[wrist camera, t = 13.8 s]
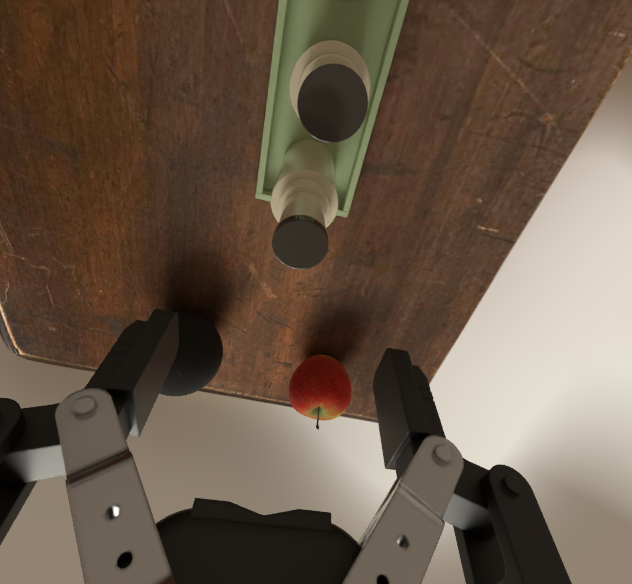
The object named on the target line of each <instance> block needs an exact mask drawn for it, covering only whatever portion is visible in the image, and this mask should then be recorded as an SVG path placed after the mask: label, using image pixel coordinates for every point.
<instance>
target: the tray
mask: <svg viewBox="0 0 632 584" xmlns="http://www.w3.org/2000/svg"><path fill="white" fill-rule="evenodd" d="M408 3H409V0H361V1H359V2H355V3H345V2H341V1H339V0H279V4H278V12H277V21H276V29H275V37H274V46H273V54H272V63H271V71H270V79H269V88H268V96H267V105H266V113H265V121H264V130H263V138H262V147H261V155H260V163H259V172H258V180H257V189H256V197H255V198H257V199H262V200H267V201H271V195H272V191H273V188H274V185H275V182H276V179H277V176H278V173H279V170H280V167H281V164H282V161H283V158H284V155H285V153H286V151H287V150H288V149H289V148H290V147H291V146H292V145H293V144H295V143H296V142H298V141H301V140H315V141H318V142H320V143H322V144H323V145H324V146H326V147H327V148H328V150H329V151H330V152H331V154H332V156H333V159H334V165H335V174H336V184H337V193H338V210H337V213H336V215H338V216H343V217H348V213H349V209H350V206H351V202H352V199H353V195H354V192H355V188H356V185H357V181H358V178H359V174H360V171H361V167H362V164H363V160H364V157H365V153H366V150H367V146H368V143H369V139H370V136H371V132H372V129H373V125H374V122H375V118H376V115H377V111H378V108H379V104H380V101H381V97H382V94H383V90H384V87H385V83H386V80H387V76H388V73H389V69H390V66H391V62H392V59H393V55H394V52H395V48H396V45H397V41H398V38H399V34H400V31H401V27H402V24H403V20H404V17H405V13H406V10H407V6H408ZM328 40H332V41H340V42H343V43H345V44H347V45H349V46H351V47H352V48H353V49H355V50H356V51H357V52H358V53H359V54H360V56H361V57H362V58H363V60H364V62H365V64H366V66H367V68H368V72H369V75H370V86H371V88H370V96H369V101H368V109H367V114H366V117H365V120H364V122H363V124H362V125H361V127H360V128H359V129H358V131H357V132H356V133H355V134H354V135H352V136H351V137H350V138H348V139H346V140H344V141H341V142H337V143H327V142H322V141H320V140H317V139H316V138H314V137H313V136H311V135H310V134H309V133H308V132H307V131H306V129H305V128H304V127H303V125H302V123H301V121H300V119H299V117H298V116H297V114H296V112H295V110H294V108H293V106H292V103H291V99H290V89H289V86H290V78H291V73H292V70H293V68H294V66H295V63H296V62H297V60H298V59H299V57H300V56H301V55H302V53H303V52H305V51H306V50H307V49H308V48H309V47H311V46H312V45H314V44H316V43H319V42H322V41H328Z"/></svg>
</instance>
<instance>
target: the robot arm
mask: <svg viewBox="0 0 632 584" xmlns="http://www.w3.org/2000/svg"><path fill="white" fill-rule="evenodd" d="M178 346H179V323H178V313H177V312H173V311H167V310H161V309H155V310H154V311H153V313H152V314H151V316H150V318H149V319H148V321H147V322H145V321H139V320H137V321H136V322H134V323H133V324H131V325H130V326H128V327H127V328H126V329H124V331H123V332H122V334H121V335H120V337H119V338H118V340H117V342H116V343H115V344H114V346H113V347H112V349H111V351H110V352H109V353H108V354H107V356H106V357H105V359H104V360H103V362H102V363H101V365H100V366H99V368H98V369H97V371H96V372H95V374H94V375H93V377H92V378H91V379H90V381H89V382H88V384H87V385H86V387H85V388H84V389H82V390H79V391H76V392H75V393H72V394H70V395H69V396H67V397H66V398H65V399H64V400H63V401H62V402H61V403H57V404H53V405H46V406H38V407H31V408H23V409H21V408H20V406H19V404H18V403H17V402H16V401H14V400H12V399H8V398H0V545H1V543H2V541H3V539H4V538H5V536H6V534H7V533H8V531H9V529H10V527H11V525H12V524H13V522H14V520H15V519H16V517H17V515H18V514H19V512H20V510H21V508H22V507H23V505H24V503H25V501H26V500H27V498H28V496H29V494H30V493H31V491H32V489H33V488H34V486H35V484H36V482H37V480H41V479H47V478H52V477H57V476H62V475H67V479H66V488H67V493H68V498H69V504H70V509H71V514H72V519H73V525H74V530H75V535H76V540H77V545H78V551H79V556H80V561H81V566H82V571H83V577H84V582H85V584H421V583H422V580H423V578H424V575H425V573H426V571H427V568H428V565H429V563H430V561H431V558H432V556H433V553H434V551H435V548H436V546H437V543H438V541H439V539H440V536H441V534H442V531H443V528H444V524H445V522H447V523H450V524H452V525H453V527H454V532H455V536H456V541H457V545H458V550H459V554H460V558H461V563H462V568H463V572H464V577H465V581H466V584H572V583H571V581H570V579H569V576H568V574H567V572H566V569H565V567H564V565H563V562H562V560H561V557H560V555H559V553H558V550H557V548H556V545H555V543H554V541H553V538H552V536H551V534H550V531H549V529H548V526H547V524H546V521H545V519H544V517H543V514H542V512H541V510H540V507H539V505H538V502H537V500H536V498H535V495H534V493H533V491H532V489H531V486H530V485H529V483H528V482H527V481H526V479H525V478H524V477H523V476H522V475H521V474H520V473H519V472H517V471H516V470H514V469H513V468H511V467H509V466H505V465H495V466H493V467H492V468H491V469H490V470H487V469H485V468H483V467H480V466H478V465H476V464H474V463H471V462H469V461H467V460H465V459H464V458H462V455H461V453H460V452H459V450H458V449H457V448H456V446H454V444H453V443H451V442H450V441H449V440H447V439H446V437H445V434H444V431H443V428H442V425H441V422H440V418H439V415H438V412H437V409H436V406H435V402H434V401H433V396H432V393H431V391H430V387H429V383H428V380H427V377H426V376H425V374H424V373H423V372H422V370H421V369H420V368H419V366H414V365H412V363H411V360H410V356H409V353H408V352H407V351H404V350H398V349H392V348H387V349H386V351H385V353H384V355H383V357H382V360H381V362H380V364H379V366H378V368H377V370H376V373H375V376H374V381H373V390H374V397H375V404H376V410H377V417H378V423H379V430H380V436H381V443H382V450H383V457H384V463H385V468H386V469H393V470H396V474H397V479H396V481H395V482H394V484H393V485H392V487H391V489H390V491H389V492H388V494H387V495H386V497H385V499H384V501H383V502H382V504H381V506H380V507H379V509H378V511H377V512H376V514H375V516H374V517H373V519H372V521H371V522H370V524H369V526H368V527H367V529H366V531H365V532H364V533H363V535H362V537H361V538H360V540H359V541H358V543H357V542H356V541H355V540H354V539H353V538H352V537H351V536H350V535H349V534H348V533H347V532H345V531H344V530H343V529H341V528H339V527H338V526H336V525H334V524H332V523H331V513H328V512H320V511H311V510H301V509H297V510H292V511H287V512H281V513H275V514H270V515H261V514H258V513H256V512H253V511H251V510H248V509H246V508H243V507H241V506H239V505H236V504H234V503H231V502H228V501H218V500H209V499H200V498H195V500H194V504H193V508H190V509H186V510H182V511H179V512H176V513H174V514H172V515H169V516H167V517H165V518H164V519H162V520H160V521H159V522H157V523H156V524H155V521H154V518H153V515H152V512H151V509H150V506H149V503H148V500H147V497H146V494H145V491H144V488H143V485H142V482H141V479H140V476H139V473H138V470H137V467H136V464H135V461H134V458H133V456H132V453H131V452H130V451H129V448H128V446H127V442H126V439H127V437H128V435H130V436H138V437H139V436H140V434H141V431H142V429H143V427H144V425H145V423H146V421H147V419H148V416H149V414H150V412H151V410H152V408H153V405H154V403H155V401H156V399H157V397H158V395H159V392H160V390H161V388H162V386H163V384H164V381H165V379H166V377H167V375H168V373H169V371H170V368H171V366H172V364H173V362H174V360H175V357H176V354H177V351H178ZM444 521H445V522H444Z"/></svg>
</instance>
